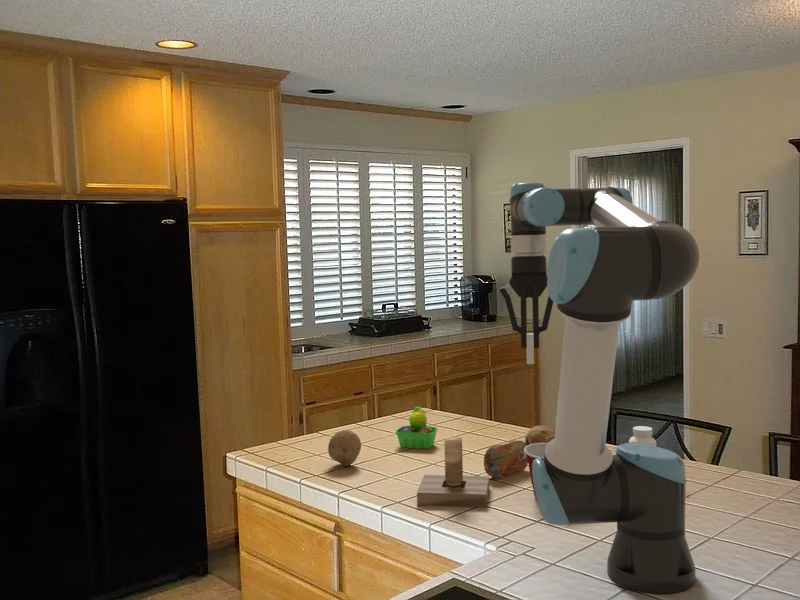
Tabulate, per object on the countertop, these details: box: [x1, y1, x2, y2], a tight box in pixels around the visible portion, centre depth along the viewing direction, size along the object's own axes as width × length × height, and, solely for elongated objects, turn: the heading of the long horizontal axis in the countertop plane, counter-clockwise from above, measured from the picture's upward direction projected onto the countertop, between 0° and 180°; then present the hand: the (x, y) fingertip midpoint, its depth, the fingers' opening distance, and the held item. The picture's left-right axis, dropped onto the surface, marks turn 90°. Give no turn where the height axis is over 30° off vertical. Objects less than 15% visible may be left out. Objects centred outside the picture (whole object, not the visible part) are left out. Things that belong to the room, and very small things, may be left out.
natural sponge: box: [327, 429, 362, 467], centre depth 216 cm, size 9×9×10 cm
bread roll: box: [524, 425, 555, 446], centre depth 232 cm, size 10×10×8 cm
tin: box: [483, 439, 529, 480], centre depth 205 cm, size 15×3×8 cm, turn 129°
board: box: [416, 474, 490, 508], centre depth 188 cm, size 14×16×3 cm
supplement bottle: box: [628, 425, 657, 447], centre depth 198 cm, size 7×7×13 cm
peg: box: [443, 436, 464, 488], centre depth 188 cm, size 4×4×14 cm
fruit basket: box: [395, 406, 438, 450], centre depth 236 cm, size 11×9×11 cm
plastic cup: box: [524, 443, 548, 501], centre depth 185 cm, size 11×11×12 cm
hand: (530, 363), depth 172 cm, fingers closed
